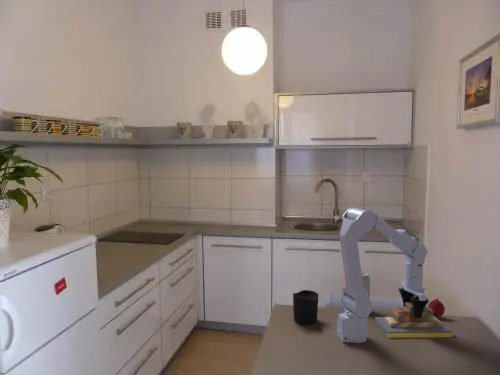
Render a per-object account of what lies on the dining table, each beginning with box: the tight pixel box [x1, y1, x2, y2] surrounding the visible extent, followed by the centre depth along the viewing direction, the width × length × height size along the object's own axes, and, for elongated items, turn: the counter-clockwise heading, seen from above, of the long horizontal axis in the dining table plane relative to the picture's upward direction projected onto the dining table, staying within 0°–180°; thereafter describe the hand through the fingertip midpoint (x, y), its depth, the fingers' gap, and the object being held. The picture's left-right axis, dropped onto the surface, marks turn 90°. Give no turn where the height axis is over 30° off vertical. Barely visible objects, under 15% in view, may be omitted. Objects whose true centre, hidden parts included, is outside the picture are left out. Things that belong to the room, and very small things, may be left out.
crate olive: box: [421, 305, 433, 322], centre depth 131 cm, size 4×4×4 cm
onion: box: [427, 297, 446, 319], centre depth 142 cm, size 6×6×8 cm
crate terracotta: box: [392, 306, 410, 323], centre depth 131 cm, size 4×4×4 cm
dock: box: [374, 316, 454, 339], centre depth 132 cm, size 22×13×2 cm, turn 92°
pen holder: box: [292, 289, 319, 325], centre depth 140 cm, size 9×9×10 cm
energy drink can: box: [361, 271, 371, 301], centre depth 149 cm, size 6×6×15 cm
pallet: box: [384, 302, 443, 327], centre depth 131 cm, size 18×5×7 cm, turn 92°
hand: (412, 313), depth 131 cm, fingers open, 7 cm apart
